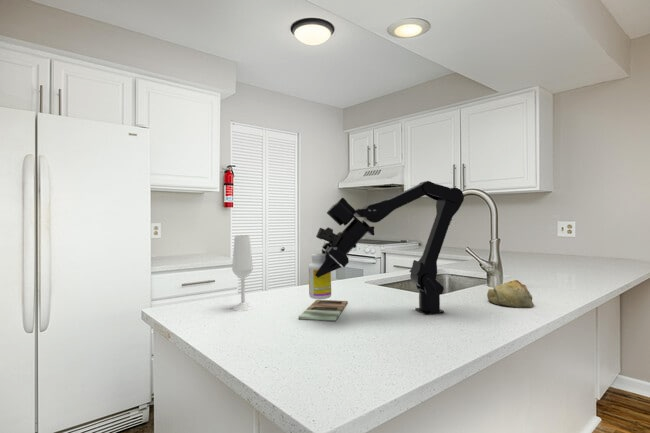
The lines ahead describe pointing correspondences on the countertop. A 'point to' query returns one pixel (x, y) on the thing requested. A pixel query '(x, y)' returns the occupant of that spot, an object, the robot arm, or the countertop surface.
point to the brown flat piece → (324, 310)
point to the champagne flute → (242, 266)
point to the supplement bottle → (319, 279)
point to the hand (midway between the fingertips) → (315, 274)
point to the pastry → (511, 295)
